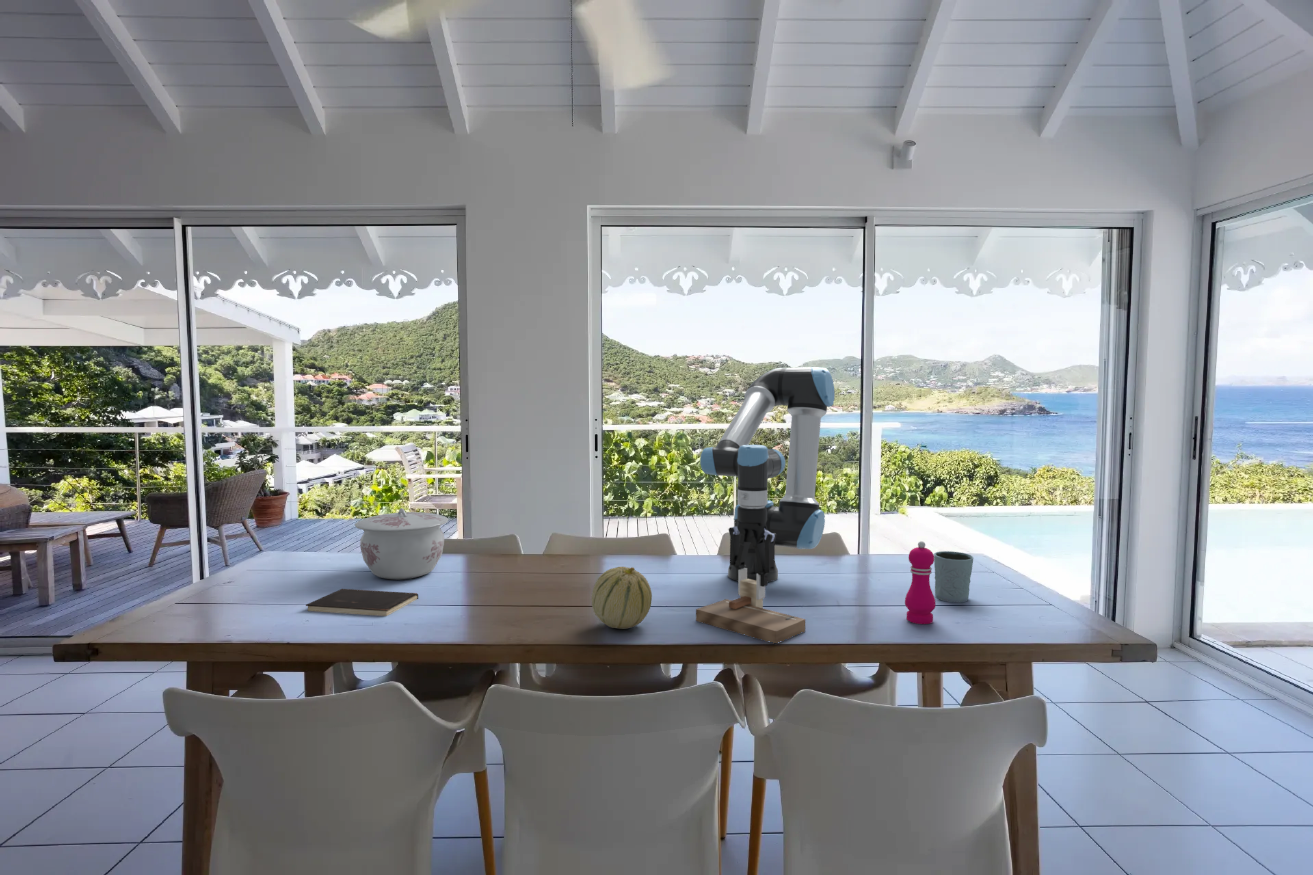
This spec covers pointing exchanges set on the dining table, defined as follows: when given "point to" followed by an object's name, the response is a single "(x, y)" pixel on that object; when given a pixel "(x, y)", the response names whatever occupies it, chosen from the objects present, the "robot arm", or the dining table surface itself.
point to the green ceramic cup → (952, 575)
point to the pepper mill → (920, 586)
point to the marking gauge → (747, 595)
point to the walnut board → (751, 621)
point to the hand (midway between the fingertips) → (751, 595)
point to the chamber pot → (402, 543)
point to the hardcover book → (362, 602)
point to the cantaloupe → (621, 597)
